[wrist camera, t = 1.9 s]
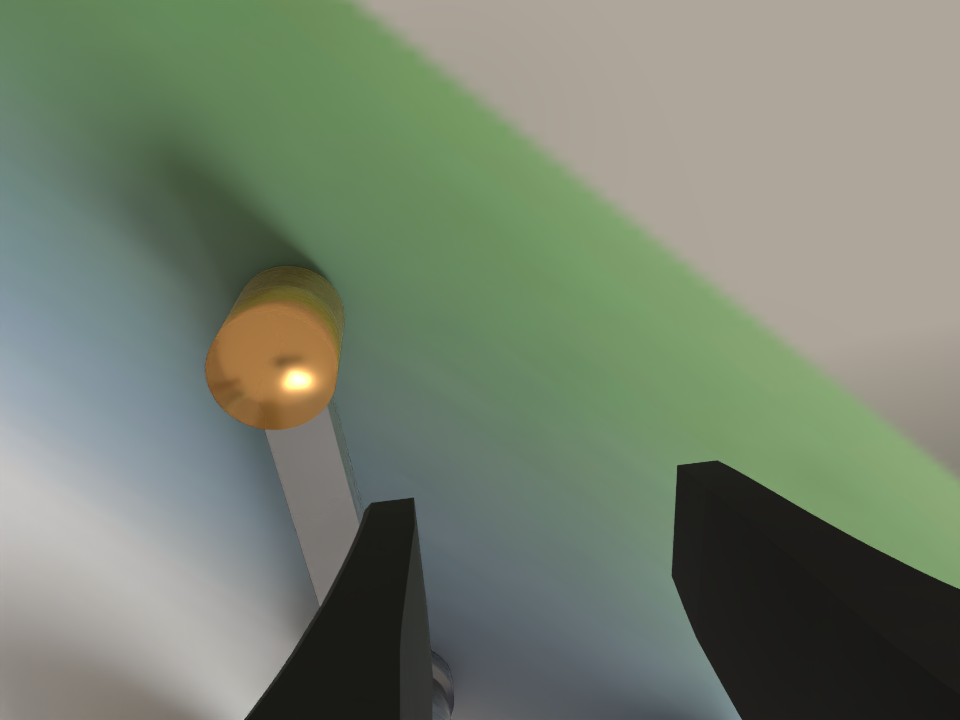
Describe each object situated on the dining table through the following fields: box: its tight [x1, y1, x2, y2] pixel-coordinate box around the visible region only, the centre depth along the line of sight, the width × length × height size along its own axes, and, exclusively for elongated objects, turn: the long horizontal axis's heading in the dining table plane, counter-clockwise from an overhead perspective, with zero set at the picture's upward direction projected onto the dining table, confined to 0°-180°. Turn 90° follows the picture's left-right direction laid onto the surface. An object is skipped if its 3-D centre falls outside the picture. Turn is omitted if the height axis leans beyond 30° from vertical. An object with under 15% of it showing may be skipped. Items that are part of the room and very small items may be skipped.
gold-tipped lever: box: [205, 266, 450, 720], centre depth 20 cm, size 17×4×4 cm, turn 8°
